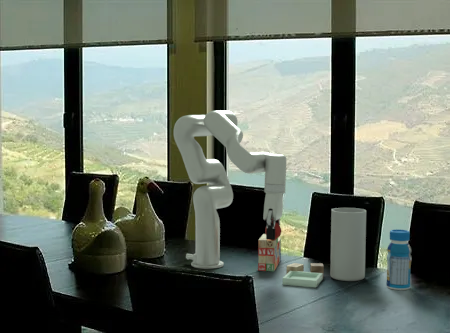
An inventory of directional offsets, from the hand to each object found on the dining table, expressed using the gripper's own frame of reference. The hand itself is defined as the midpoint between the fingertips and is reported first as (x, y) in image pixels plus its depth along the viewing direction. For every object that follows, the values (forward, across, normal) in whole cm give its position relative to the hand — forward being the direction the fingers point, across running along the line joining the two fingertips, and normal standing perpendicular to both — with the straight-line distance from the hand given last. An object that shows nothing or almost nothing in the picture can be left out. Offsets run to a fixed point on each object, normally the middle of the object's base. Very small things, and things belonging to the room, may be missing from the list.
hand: (272, 237), depth 262 cm
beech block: (+15, -8, +7) cm, 18 cm away
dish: (+15, +2, +12) cm, 19 cm away
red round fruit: (+2, 0, 0) cm, 2 cm away
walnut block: (+15, -8, +15) cm, 23 cm away
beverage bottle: (+14, -2, +45) cm, 47 cm away
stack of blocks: (+16, -21, -6) cm, 27 cm away
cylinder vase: (+15, -10, +26) cm, 32 cm away
